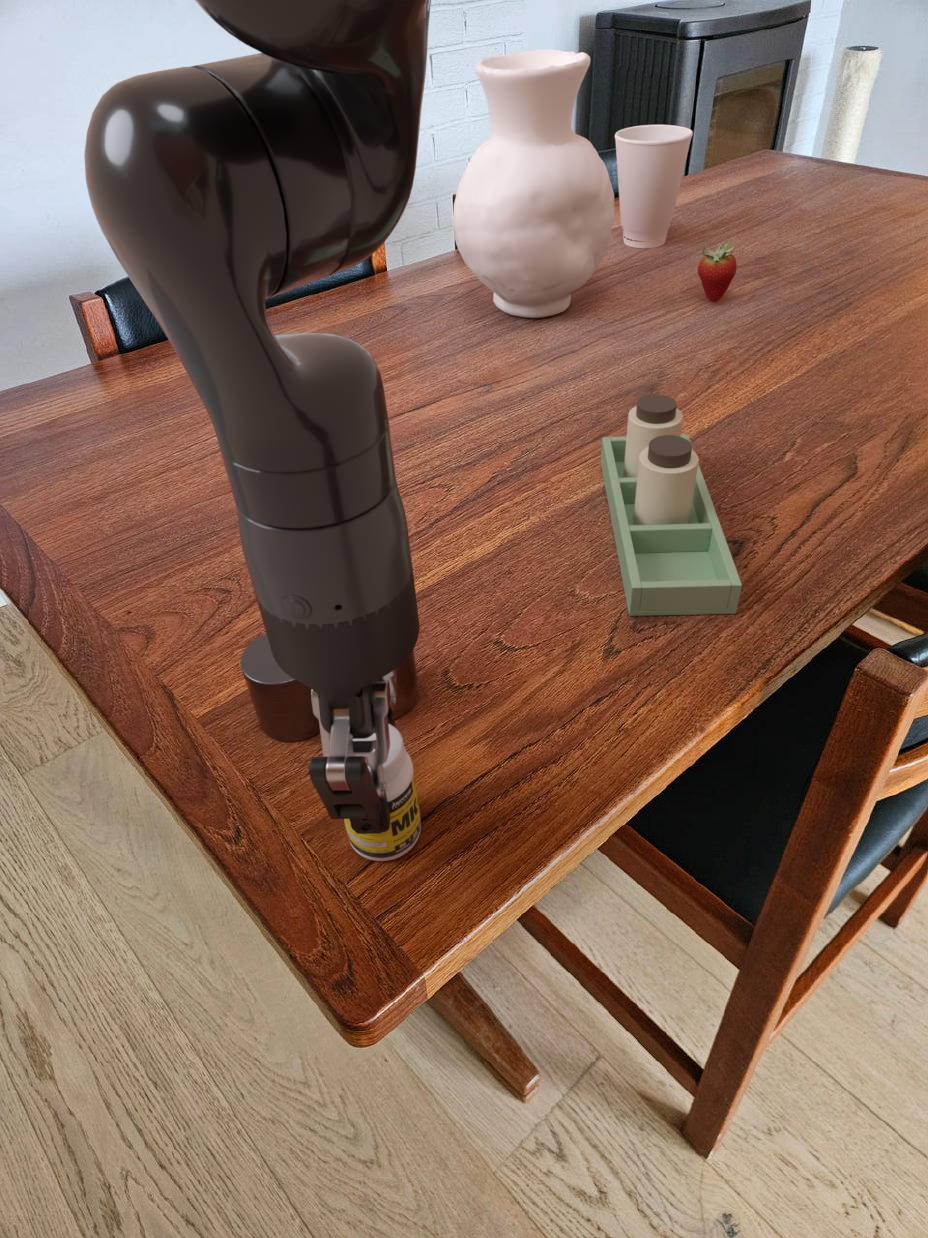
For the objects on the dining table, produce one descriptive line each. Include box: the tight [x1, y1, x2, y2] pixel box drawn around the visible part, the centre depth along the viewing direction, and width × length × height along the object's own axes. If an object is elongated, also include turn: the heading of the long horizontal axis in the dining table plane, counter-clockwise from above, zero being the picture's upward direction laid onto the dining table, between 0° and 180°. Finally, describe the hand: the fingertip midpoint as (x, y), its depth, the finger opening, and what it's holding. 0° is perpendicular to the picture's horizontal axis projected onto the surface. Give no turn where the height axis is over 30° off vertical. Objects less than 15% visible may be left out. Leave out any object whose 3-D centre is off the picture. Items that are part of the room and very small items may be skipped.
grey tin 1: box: [239, 632, 320, 743], centre depth 59 cm, size 6×6×6 cm
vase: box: [452, 48, 615, 319], centre depth 109 cm, size 19×21×30 cm
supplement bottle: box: [343, 724, 422, 862], centre depth 50 cm, size 5×5×8 cm
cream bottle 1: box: [623, 393, 684, 478], centre depth 79 cm, size 5×5×8 cm
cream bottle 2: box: [633, 435, 700, 525], centre depth 73 cm, size 5×5×8 cm
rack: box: [599, 433, 743, 617], centre depth 75 cm, size 9×24×3 cm, turn 178°
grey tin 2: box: [393, 648, 420, 720], centre depth 60 cm, size 6×6×6 cm
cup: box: [614, 124, 694, 249], centre depth 132 cm, size 12×12×16 cm
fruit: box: [697, 240, 738, 303], centre depth 114 cm, size 5×5×8 cm
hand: (377, 788), depth 50 cm, fingers closed on supplement bottle, 4 cm apart
